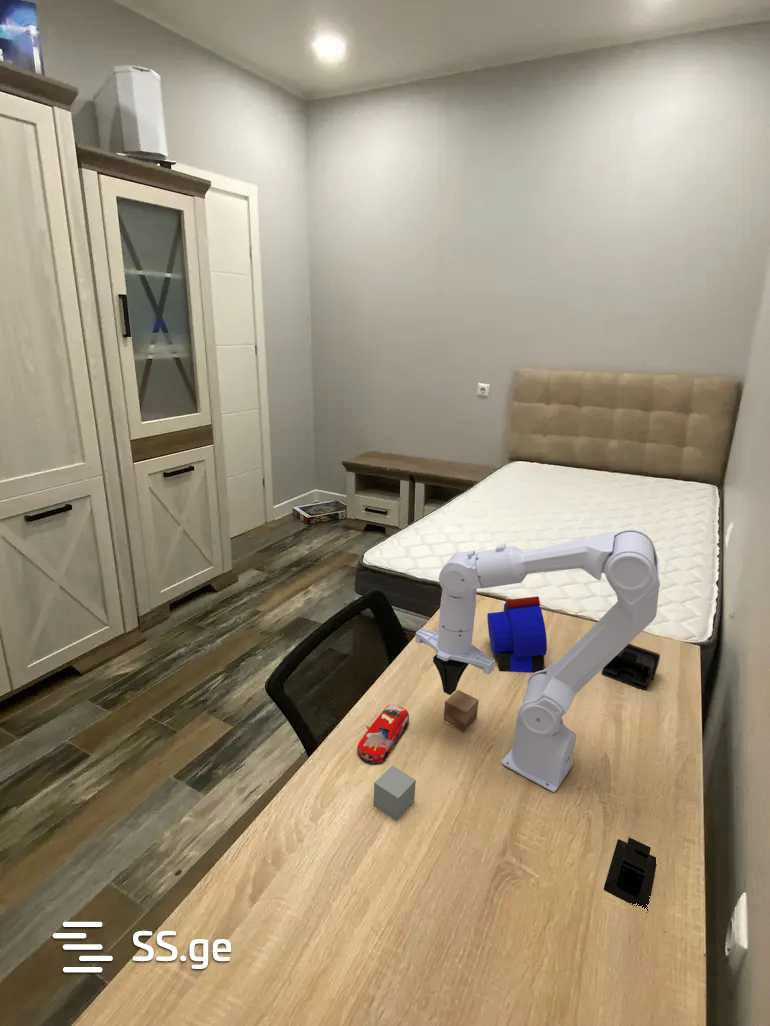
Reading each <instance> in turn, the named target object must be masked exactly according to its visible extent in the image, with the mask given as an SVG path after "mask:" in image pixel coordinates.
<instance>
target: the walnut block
mask: <svg viewBox="0 0 770 1026" xmlns="http://www.w3.org/2000/svg"><path fill="white" fill-rule="evenodd" d="M479 700H480V699H478V698H476V697H474V696H472V695H469V694H468V693H465V692H463V691H462V690H459V689H456V690H455V691H454V692H453V693H452V694H451V695H449V697H448V698H447V699H446V700H445V701H444V709H443V717H442V718H443V719H442V721H443V720H444V721H446V722H448V723H450V724H451V725H450V724H449V725H450V726H452V725H453V726H452V727H454V728H456V729H458V730H459V731H461V732H463V733H465V732H466V731H467V730H468V729H469V728H470V726H472V725H473V724H474V722H475V721H476V720H477V718H478V717H477V716H478V709H479V702H480V701H479ZM444 721H443V722H444ZM446 722H445V723H446ZM448 723H447V724H448Z"/></svg>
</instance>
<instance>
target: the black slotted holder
mask: <svg viewBox="0 0 770 1026" xmlns="http://www.w3.org/2000/svg"><path fill="white" fill-rule="evenodd" d="M660 657H661V654H660V653H658V652H654V651H652V650H650V649H646V648H643V647H640V646H636V645H634V644H632V643H629V644H628V645H627V646H626V647H625V648H624V649H623V650H622V651H621V652H620V653H618V654H617V655H616V656H615V657H614V658H613V659H612V660H611V661H610V662H609V663H608V664H607V665H606V666H605V667H604V668H603V669H602V670H601V676H604V677H607V678H609V679H611V680H614V681H616V682H619V683H622V684H625V685H627V686H630V687H633V688H635V689H637V690H640V689H641V690H640V691H643V690H644V691H643V692H645V690H646V691H647V689H648V688H649V685H650V683H651V682H652V681H653V680H654V679H655V676H656V673H657V670H658V666H659V663H660V660H661V658H660ZM647 687H648V688H647Z"/></svg>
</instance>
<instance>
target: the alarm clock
mask: <svg viewBox="0 0 770 1026" xmlns="http://www.w3.org/2000/svg"><path fill="white" fill-rule="evenodd" d="M540 602H541V600H540V596H529V597H522V598H521V597H519V598H512V599H505V602H504V605H503V611H496V612H488V613H487V630H488V637H489V642H490V646H491V652H492V654H493V655H494V656H495V655H497V656H496V657H497V664H498V665H497V667H498V671H499V672H503V673H504V672H505V673H506V672H507V673H526V674H528V673H529V674H531V673H532V674H533V673H535V672H538V671H541V670H544V669H545V656H546V655H547V650H548V641H547V640H548V639H547V632H546V624H545V619H544V615H543V611H542V609H541V606H540V605H541V603H540Z"/></svg>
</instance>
